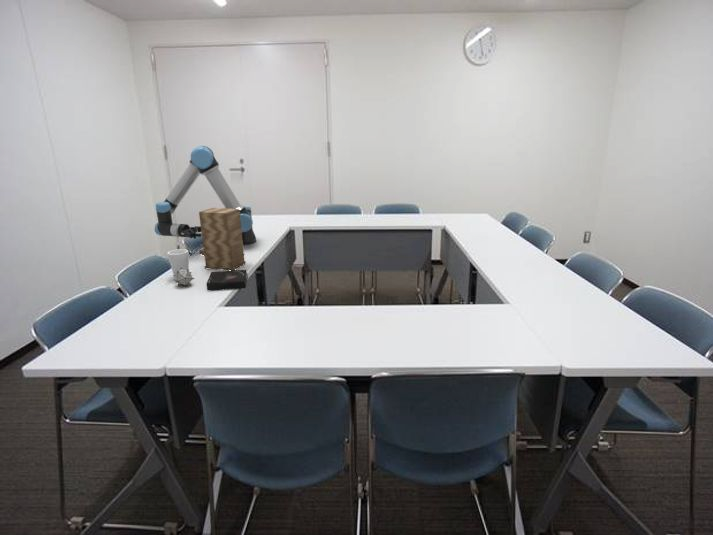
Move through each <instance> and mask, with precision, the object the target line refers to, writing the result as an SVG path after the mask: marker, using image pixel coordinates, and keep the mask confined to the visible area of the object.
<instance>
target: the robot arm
mask: <svg viewBox="0 0 713 535" xmlns="http://www.w3.org/2000/svg"><path fill="white" fill-rule="evenodd" d="M219 167H220V165H219V162H218V161H217V158H215V153H214V152H213V150H212V149H211V148H210V147H208V146H205V145H199V146H197V147H195V148H193V149H192V151H191V153H190V160H189V165H188V166H187V168H186V169H185V170H184V172H183V173H182V175H181V177H180V178H179V179H178V181H177V182H176V184H175V185H174V186H173V188H172V189H171V191H170V192H169V193H168V195H167V197H166V199H164V201H160V202H156V203H155V211H156V216H157V223H155V224H154V232H155V234H156V235H158V236H163V237H176V238H180V237H181V238H190V239H195V240H196V239H197V238H201V239H202V232H201V225H199V226H197V225H196V226H190V225H189V224H188V223H173V218H172V215H173V214H174V212H175V211H176V209H177V208H178V206H179V205H180V203H181V202H182V200H184V199H183V198H185V196H186V194H187V193H188V192H189V190H190V189H191V187H192V186H193V184H194V183H195V182H196V180H197V179H198V177H199V176H200V175H202V176H204V177H205V178H206V180H207V181H208V183H209V185H210V186H211V187H212V189H213V191H214V192H215V194H216V195H217V197H218V198H219V201H221V203H222V204H223V206H224V208H227V209H240V218H241V229H242V240H243V246H244V245H252V244H255V243H256V242H257V236H256V234H255V232H254V230H253V228H254V227H253V224H254V223H253V222H254V221H253V218H252V208H251V207H250V206H245V205H243V204H241V203H240V202H239V200H238V198H237V197H236V195H235V193H234V192H233V190H232V188H231V187H230V185H229V184H228V182H227V180H226V179H225V177H224V176H223V174H222V172H221V170H220V169H219Z"/></svg>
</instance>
